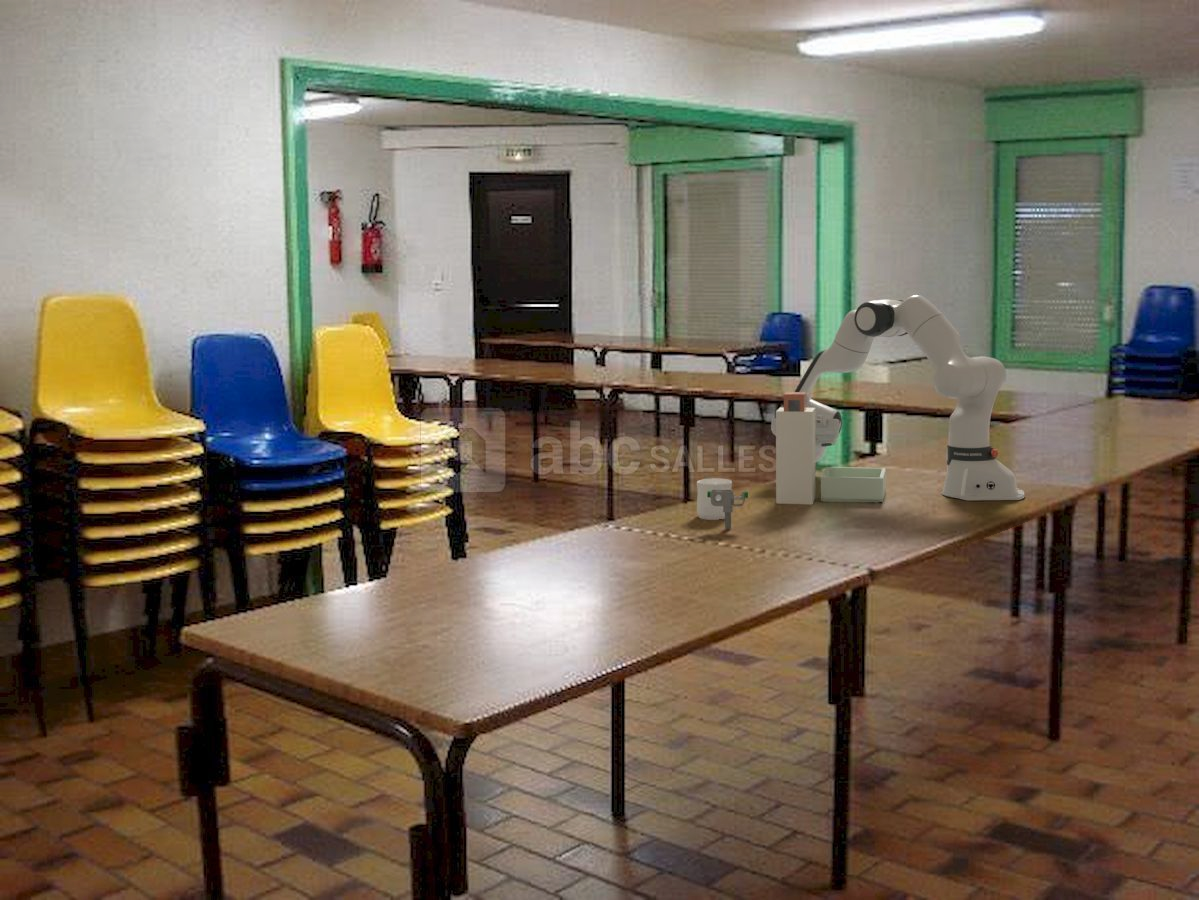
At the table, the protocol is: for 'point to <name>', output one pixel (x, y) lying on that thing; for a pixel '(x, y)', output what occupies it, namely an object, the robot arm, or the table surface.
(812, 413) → the cream block
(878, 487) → the green bin
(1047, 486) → the table surface
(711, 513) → the cup
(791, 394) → the grey long block
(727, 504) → the mechanical component
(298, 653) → the table surface
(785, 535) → the table surface
